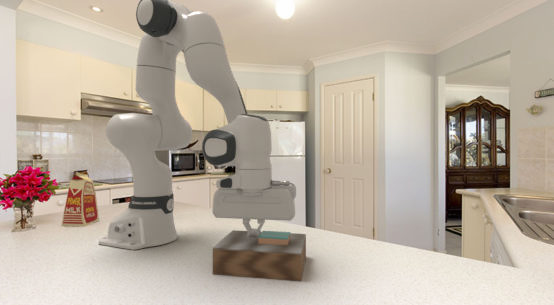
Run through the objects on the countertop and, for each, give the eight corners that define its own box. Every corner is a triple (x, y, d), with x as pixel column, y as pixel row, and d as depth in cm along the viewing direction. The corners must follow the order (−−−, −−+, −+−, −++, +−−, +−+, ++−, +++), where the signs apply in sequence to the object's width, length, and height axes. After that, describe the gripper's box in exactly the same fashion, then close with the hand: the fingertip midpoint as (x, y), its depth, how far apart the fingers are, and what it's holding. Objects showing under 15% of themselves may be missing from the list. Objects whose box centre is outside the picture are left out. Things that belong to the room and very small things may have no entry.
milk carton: (84, 226, 104) (84, 172, 104) (60, 226, 104) (59, 172, 104) (100, 220, 113) (100, 170, 113) (78, 220, 113) (77, 170, 113)
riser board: (212, 274, 63) (212, 247, 63) (232, 252, 77) (232, 230, 77) (301, 281, 60) (301, 253, 60) (305, 256, 74) (305, 233, 74)
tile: (258, 243, 66) (258, 236, 66) (263, 237, 71) (263, 230, 71) (287, 245, 65) (287, 238, 65) (290, 238, 70) (290, 232, 70)
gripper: (297, 179, 70) (297, 235, 70) (219, 178, 74) (219, 231, 74) (294, 182, 64) (294, 243, 64) (209, 181, 67) (209, 238, 68)
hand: (254, 236), depth 69 cm, fingers closed
